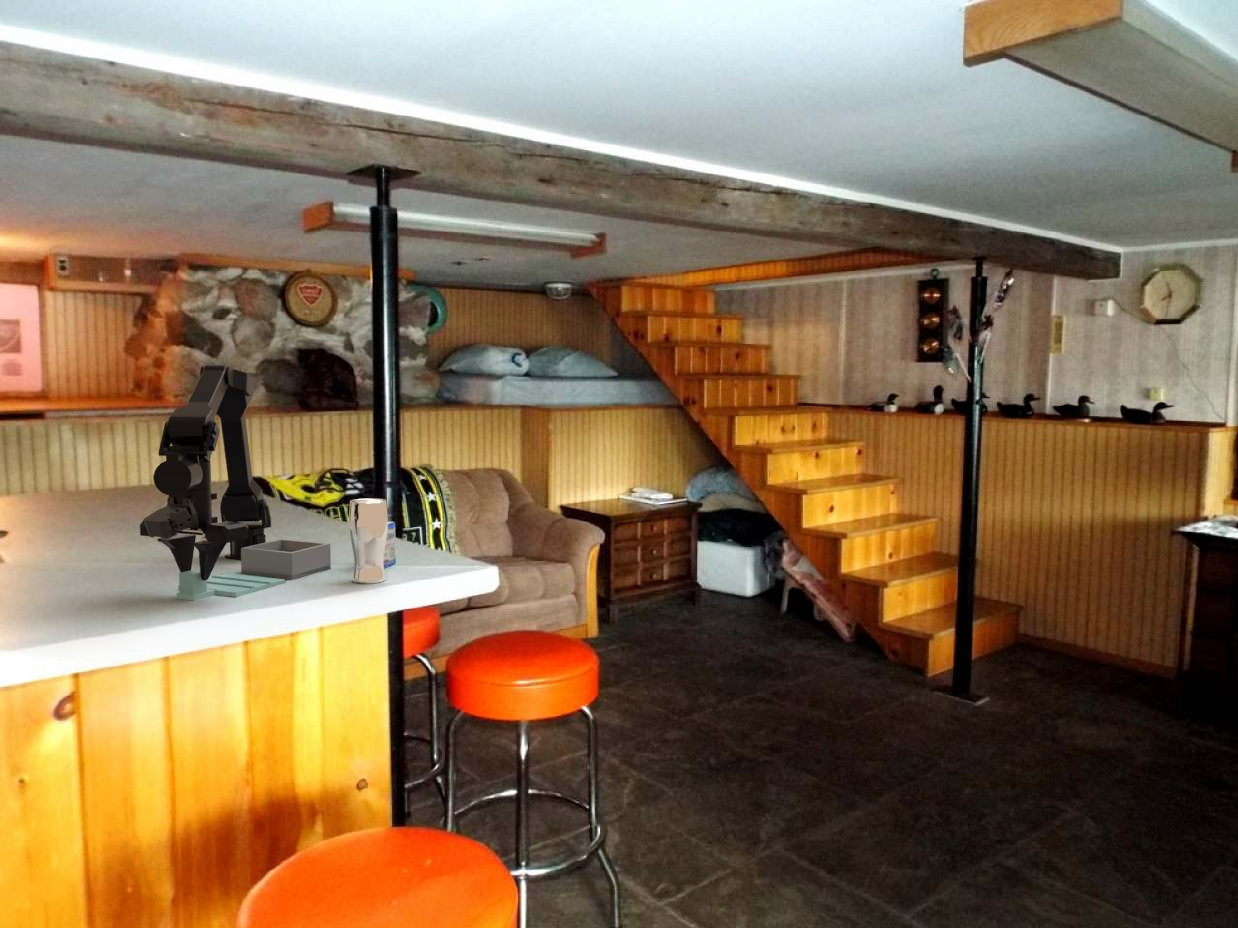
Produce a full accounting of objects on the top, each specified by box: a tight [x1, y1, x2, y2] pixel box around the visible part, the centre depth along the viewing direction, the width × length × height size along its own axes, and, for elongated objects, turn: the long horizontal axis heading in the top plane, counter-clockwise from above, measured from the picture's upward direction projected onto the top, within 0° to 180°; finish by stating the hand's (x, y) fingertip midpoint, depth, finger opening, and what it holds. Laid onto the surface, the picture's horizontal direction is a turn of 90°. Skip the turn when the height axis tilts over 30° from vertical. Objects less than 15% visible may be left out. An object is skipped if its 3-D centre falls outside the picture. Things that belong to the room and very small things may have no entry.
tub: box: [240, 538, 332, 581], centre depth 178 cm, size 12×11×5 cm
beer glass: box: [348, 497, 389, 585], centre depth 171 cm, size 7×7×15 cm
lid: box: [176, 569, 286, 602], centre depth 163 cm, size 13×17×4 cm
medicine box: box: [383, 521, 397, 569], centre depth 184 cm, size 8×4×9 cm, turn 168°
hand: (195, 579), depth 157 cm, fingers open, 4 cm apart
